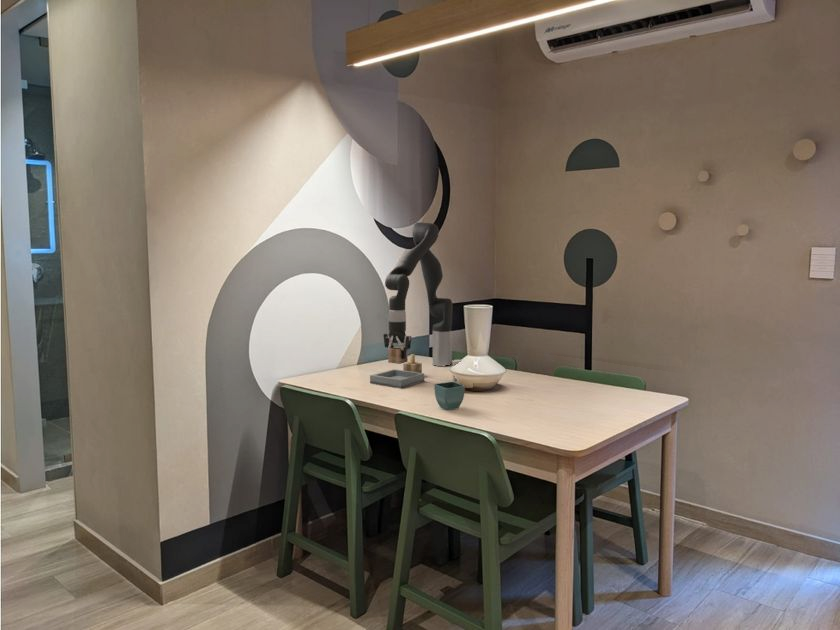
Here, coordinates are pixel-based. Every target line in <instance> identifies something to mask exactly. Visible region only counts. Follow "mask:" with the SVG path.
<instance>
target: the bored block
mask: <svg viewBox="0 0 840 630" xmlns="http://www.w3.org/2000/svg"><path fill="white" fill-rule="evenodd" d="M387 349H388V348H387ZM401 351H402V350H401V347H400V346H394V347H393V348H390V349H388V351H387V353H388V354H387V355H388V356H387V361H388V363H389V364H396V365H401V364H404V363H408V362H409V361H408V350H406V358H405V359H401Z"/></svg>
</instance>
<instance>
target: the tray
mask: <svg viewBox="0 0 840 630" xmlns="http://www.w3.org/2000/svg"><path fill="white" fill-rule="evenodd" d="M423 381H424V382H425V373H424V372H422V373H418V372H411V371H404V370H402V369H395V368H393V369H389V370H386V371H385V370H384V371H382V372H378V373H374V374H370V376H369V383H370V384H373V385H378V384H379V385H378V386H385V387H391V388H397V389H403V387H404V388H407V387H411V386H414V385H416V383H417V384H420V383H424V382H423ZM419 382H420V383H419ZM413 384H414V385H413ZM406 386H407V387H406Z"/></svg>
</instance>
